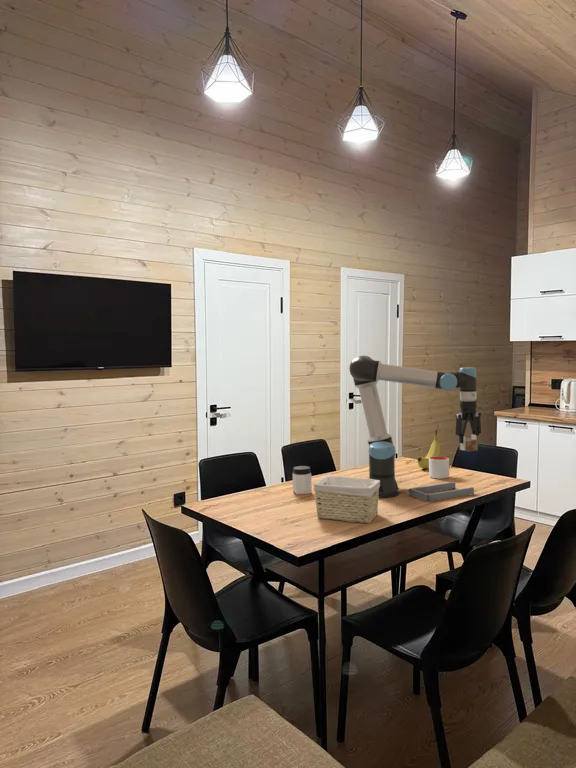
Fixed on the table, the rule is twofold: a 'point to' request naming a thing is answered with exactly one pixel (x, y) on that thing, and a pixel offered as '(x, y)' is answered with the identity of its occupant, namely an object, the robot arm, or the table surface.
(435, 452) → the banana
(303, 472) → the jar
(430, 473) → the cup
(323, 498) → the storage basket
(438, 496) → the trough
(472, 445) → the walnut block
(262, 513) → the table surface
